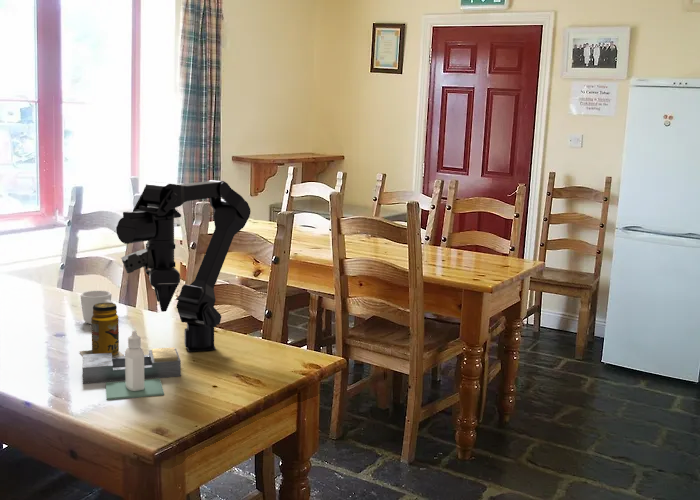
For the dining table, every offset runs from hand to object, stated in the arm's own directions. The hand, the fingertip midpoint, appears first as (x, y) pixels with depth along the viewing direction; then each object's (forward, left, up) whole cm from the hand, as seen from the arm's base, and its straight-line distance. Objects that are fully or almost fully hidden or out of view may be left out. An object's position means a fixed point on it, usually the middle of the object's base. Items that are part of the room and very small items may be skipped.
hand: (161, 306), depth 165 cm
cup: (+13, -36, -13) cm, 41 cm away
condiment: (+13, -8, -13) cm, 20 cm away
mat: (+7, +17, -13) cm, 23 cm away
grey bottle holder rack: (+7, +7, -13) cm, 16 cm away
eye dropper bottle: (+7, +17, -13) cm, 22 cm away
